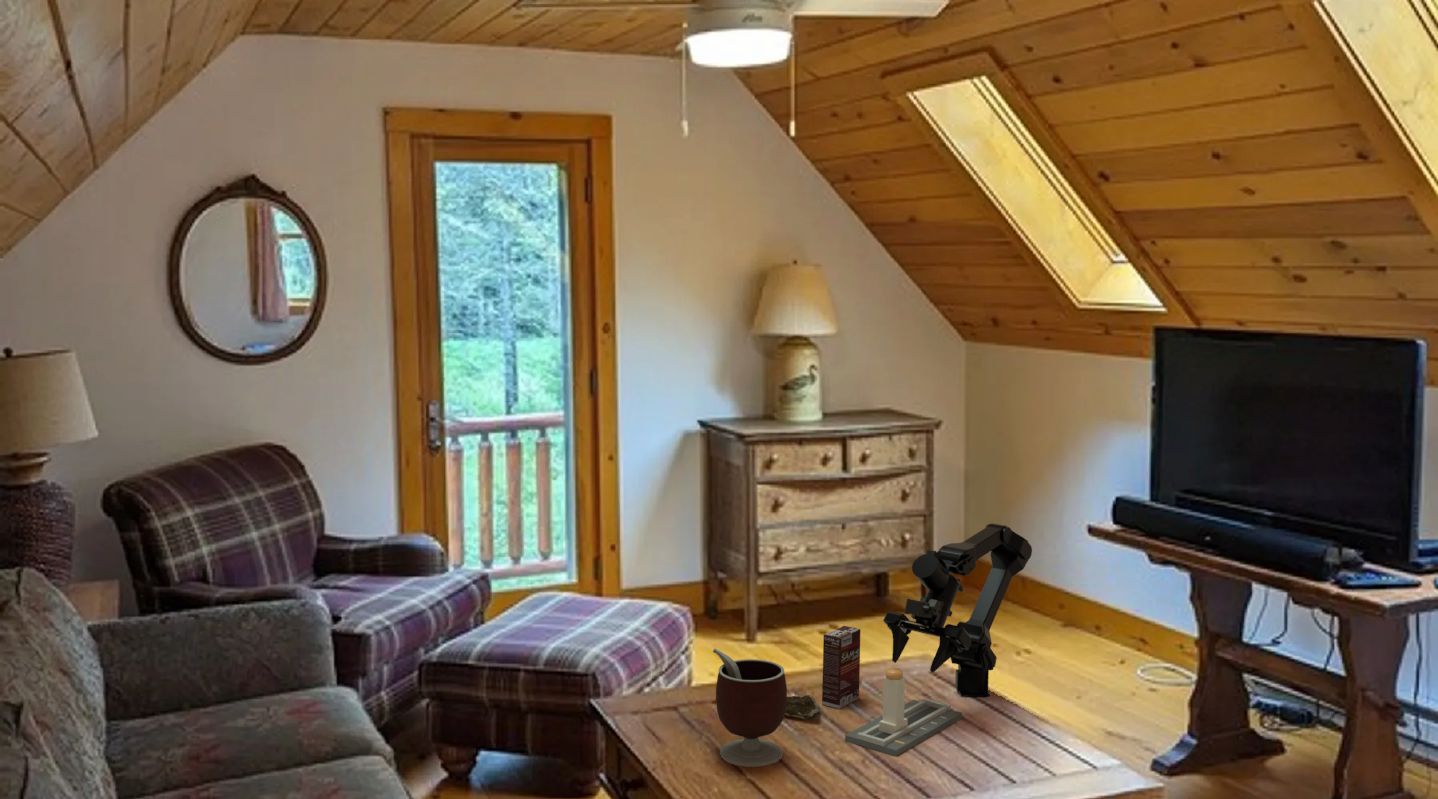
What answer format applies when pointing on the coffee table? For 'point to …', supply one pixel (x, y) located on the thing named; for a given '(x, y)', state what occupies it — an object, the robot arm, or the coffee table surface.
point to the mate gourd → (750, 708)
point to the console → (921, 726)
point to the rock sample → (801, 706)
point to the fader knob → (893, 702)
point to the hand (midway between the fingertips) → (912, 666)
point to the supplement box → (841, 667)
